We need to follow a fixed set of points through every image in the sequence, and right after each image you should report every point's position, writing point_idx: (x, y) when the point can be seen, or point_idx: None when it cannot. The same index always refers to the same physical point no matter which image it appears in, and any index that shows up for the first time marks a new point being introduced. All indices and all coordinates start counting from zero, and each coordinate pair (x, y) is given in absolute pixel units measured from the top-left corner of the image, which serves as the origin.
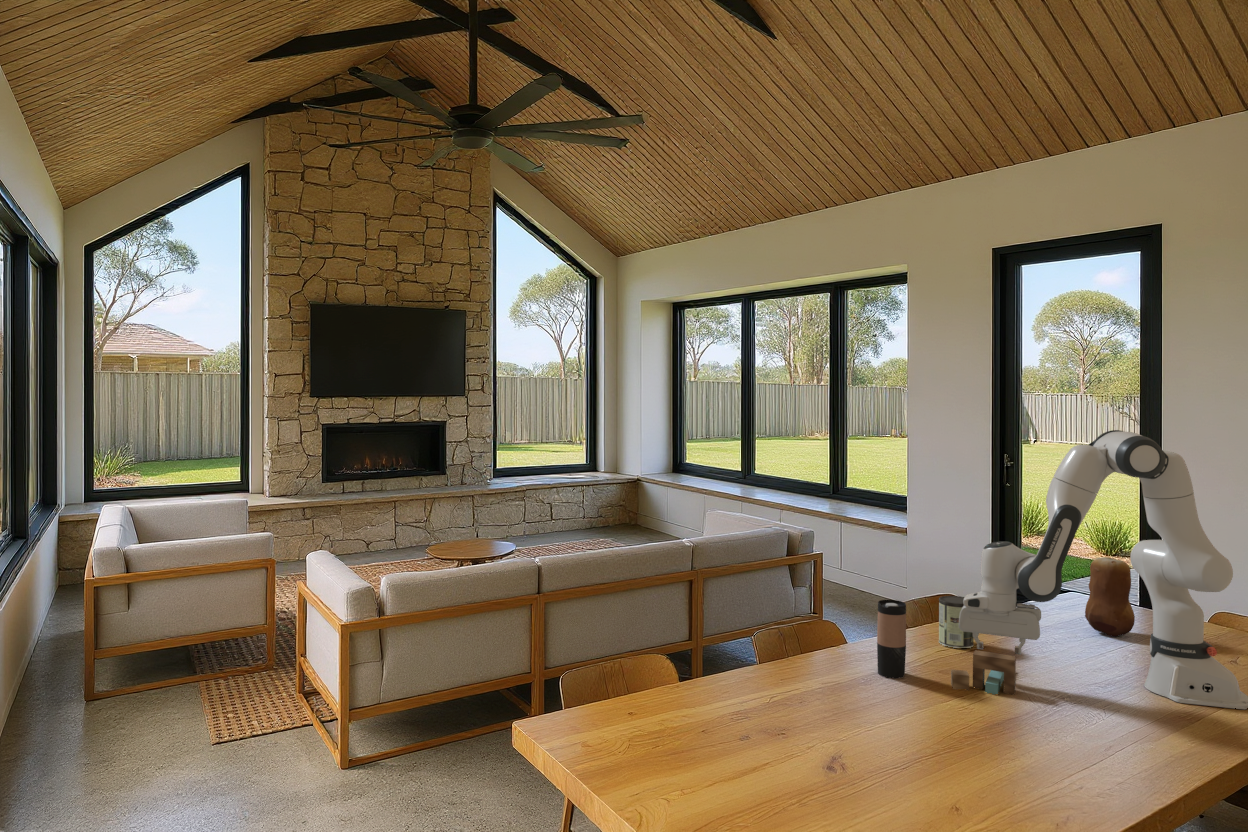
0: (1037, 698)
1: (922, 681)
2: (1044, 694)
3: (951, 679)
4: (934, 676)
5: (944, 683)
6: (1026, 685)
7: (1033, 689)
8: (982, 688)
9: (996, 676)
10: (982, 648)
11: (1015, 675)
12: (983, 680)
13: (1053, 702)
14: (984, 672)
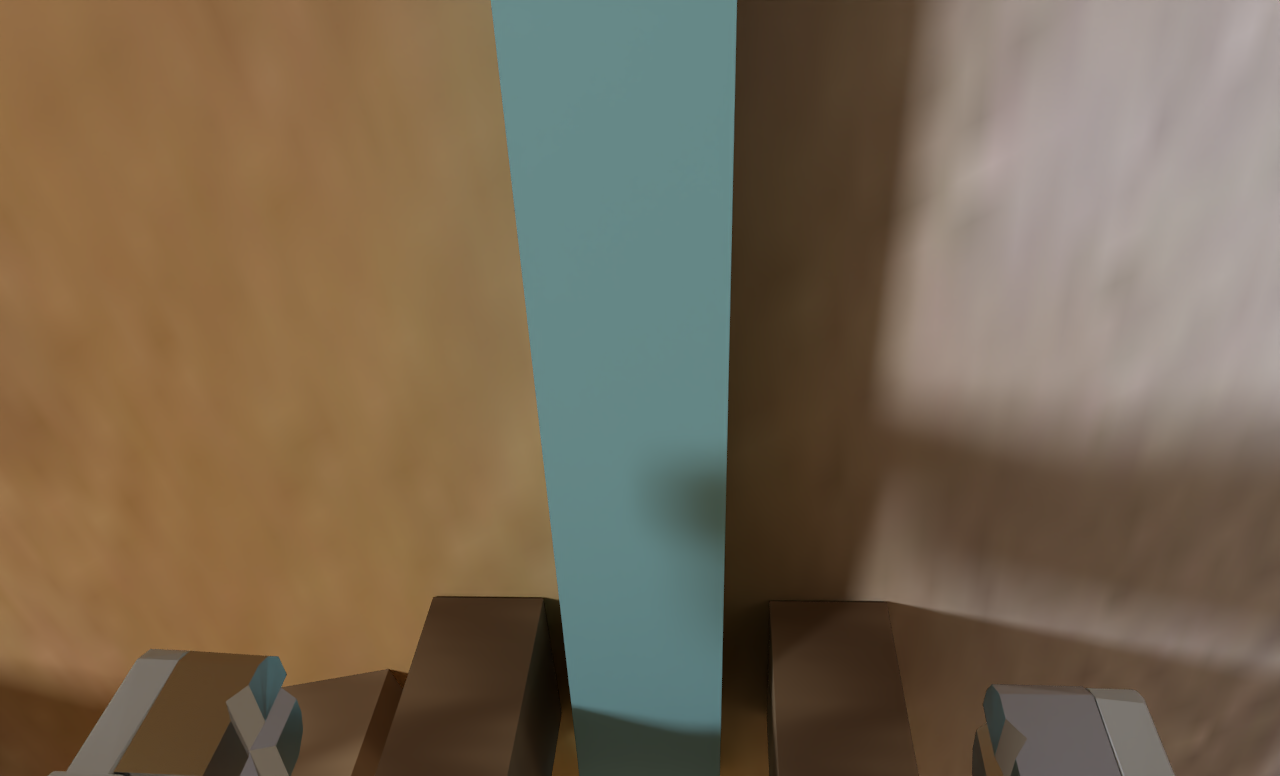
0: None
1: (19, 736)
2: (1223, 593)
3: None
4: (5, 585)
5: None
6: (1042, 402)
7: (1116, 499)
8: (557, 721)
9: (666, 681)
10: (296, 759)
11: (915, 762)
12: (542, 744)
13: (1262, 744)
14: (517, 734)
